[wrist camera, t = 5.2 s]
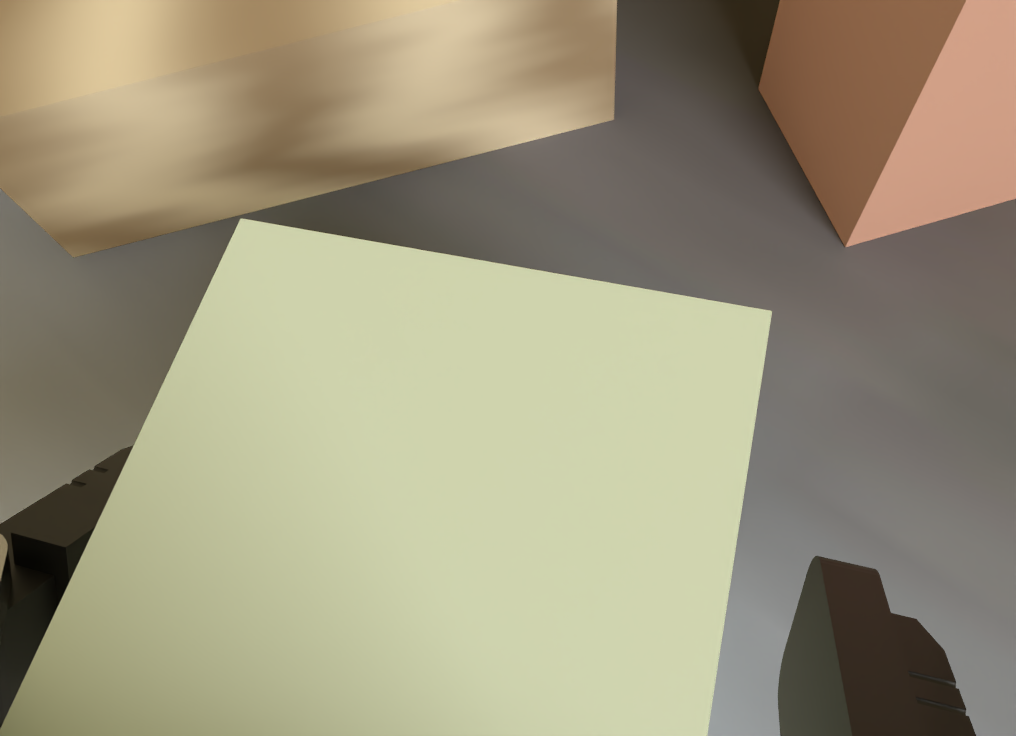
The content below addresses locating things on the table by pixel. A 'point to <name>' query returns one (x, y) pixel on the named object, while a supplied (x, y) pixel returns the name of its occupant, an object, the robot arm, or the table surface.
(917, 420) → the table surface
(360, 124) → the birch plinth block
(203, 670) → the sage-green block
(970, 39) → the clay-red block
